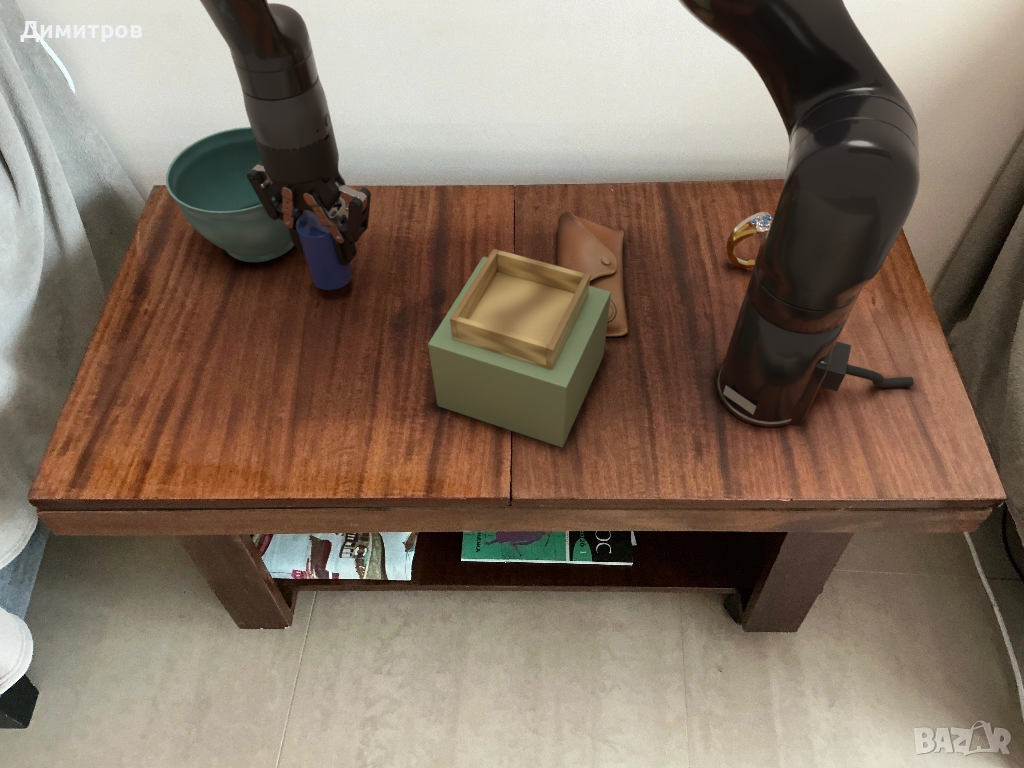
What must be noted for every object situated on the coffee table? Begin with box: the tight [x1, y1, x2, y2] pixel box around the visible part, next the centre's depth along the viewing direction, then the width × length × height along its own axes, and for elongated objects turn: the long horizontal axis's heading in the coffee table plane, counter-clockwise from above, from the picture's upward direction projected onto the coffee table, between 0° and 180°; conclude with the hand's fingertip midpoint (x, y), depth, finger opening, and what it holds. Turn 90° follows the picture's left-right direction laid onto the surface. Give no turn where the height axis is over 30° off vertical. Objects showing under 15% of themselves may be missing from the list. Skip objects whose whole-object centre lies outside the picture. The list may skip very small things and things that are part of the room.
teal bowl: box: [165, 126, 309, 263], centre depth 94 cm, size 16×16×11 cm
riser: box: [427, 256, 611, 448], centre depth 79 cm, size 14×13×10 cm
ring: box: [726, 211, 774, 272], centre depth 90 cm, size 7×3×8 cm, turn 86°
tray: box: [450, 248, 590, 370], centre depth 74 cm, size 10×10×3 cm
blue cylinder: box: [296, 209, 353, 291], centre depth 88 cm, size 5×5×8 cm
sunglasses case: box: [556, 210, 629, 338], centre depth 91 cm, size 18×7×7 cm
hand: (326, 254), depth 88 cm, fingers closed on blue cylinder, 4 cm apart
